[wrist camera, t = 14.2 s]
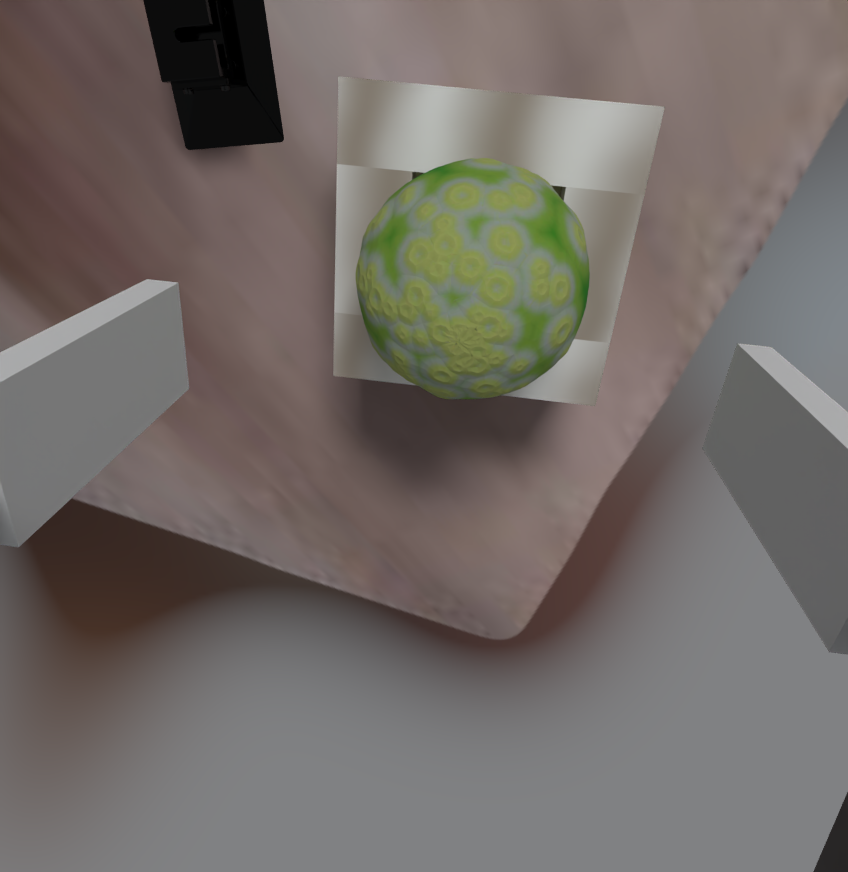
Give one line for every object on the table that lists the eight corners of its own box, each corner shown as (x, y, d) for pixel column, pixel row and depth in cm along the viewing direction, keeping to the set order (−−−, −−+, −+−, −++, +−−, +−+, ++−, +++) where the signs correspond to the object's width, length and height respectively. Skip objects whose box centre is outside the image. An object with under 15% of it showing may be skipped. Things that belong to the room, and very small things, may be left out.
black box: (304, 168, 37) (279, 176, 33) (180, 177, 38) (140, 185, 34) (262, -119, 31) (226, -155, 27) (116, -101, 32) (59, -133, 28)
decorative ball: (342, 204, 30) (274, 292, 23) (528, 85, 26) (523, 144, 18) (445, 360, 35) (418, 478, 27) (618, 280, 31) (644, 393, 23)
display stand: (360, 330, 41) (333, 375, 34) (370, 84, 34) (338, 76, 27) (576, 354, 40) (595, 406, 33) (628, 108, 34) (664, 106, 26)
